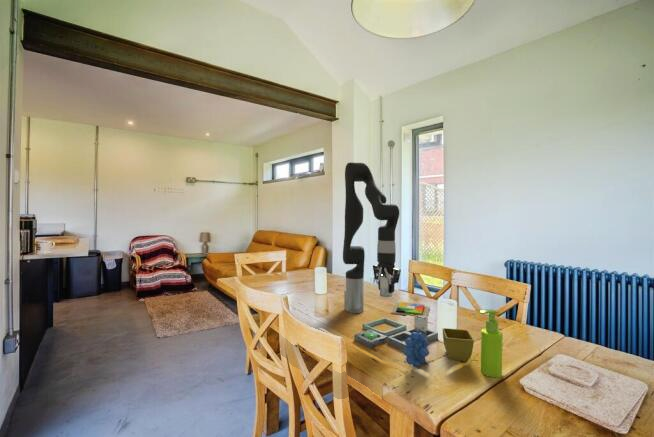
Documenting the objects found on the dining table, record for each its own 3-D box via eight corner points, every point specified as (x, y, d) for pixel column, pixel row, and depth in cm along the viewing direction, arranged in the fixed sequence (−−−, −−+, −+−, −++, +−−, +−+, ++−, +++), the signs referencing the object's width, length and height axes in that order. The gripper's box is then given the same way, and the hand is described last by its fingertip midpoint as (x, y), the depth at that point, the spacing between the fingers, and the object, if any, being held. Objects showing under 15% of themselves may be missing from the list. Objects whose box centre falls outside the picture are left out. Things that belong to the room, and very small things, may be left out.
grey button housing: (354, 342, 120) (354, 334, 120) (370, 336, 126) (370, 329, 125) (370, 350, 113) (370, 342, 113) (387, 344, 118) (387, 336, 118)
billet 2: (411, 337, 122) (411, 316, 122) (419, 334, 125) (419, 313, 125) (422, 341, 118) (422, 319, 118) (430, 338, 121) (430, 317, 121)
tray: (362, 330, 132) (362, 324, 132) (385, 323, 140) (385, 317, 140) (383, 340, 122) (383, 333, 122) (406, 332, 130) (406, 325, 130)
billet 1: (377, 295, 130) (377, 275, 130) (385, 293, 133) (385, 274, 133) (386, 297, 126) (386, 277, 126) (394, 295, 129) (394, 276, 129)
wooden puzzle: (389, 316, 152) (389, 309, 152) (396, 305, 169) (396, 299, 169) (426, 321, 145) (426, 313, 145) (429, 309, 162) (429, 302, 162)
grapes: (415, 378, 94) (415, 339, 94) (398, 369, 100) (398, 332, 99) (438, 367, 101) (439, 331, 100) (421, 359, 106) (422, 325, 106)
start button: (361, 341, 120) (361, 334, 120) (370, 338, 123) (370, 331, 123) (370, 346, 116) (370, 338, 116) (380, 342, 119) (380, 335, 119)
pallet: (406, 354, 110) (406, 345, 110) (387, 345, 117) (387, 337, 117) (437, 341, 121) (438, 332, 121) (418, 334, 128) (418, 326, 128)
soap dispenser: (474, 368, 100) (474, 307, 100) (494, 367, 101) (495, 307, 100) (484, 378, 94) (485, 313, 94) (506, 377, 95) (507, 313, 95)
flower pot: (474, 367, 101) (474, 340, 101) (446, 364, 103) (446, 337, 103) (467, 354, 110) (467, 329, 110) (441, 352, 112) (442, 327, 111)
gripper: (367, 250, 132) (367, 289, 133) (393, 253, 121) (393, 296, 121) (380, 248, 137) (379, 286, 137) (405, 252, 125) (405, 293, 126)
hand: (386, 291), depth 129 cm, fingers closed on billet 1, 5 cm apart
